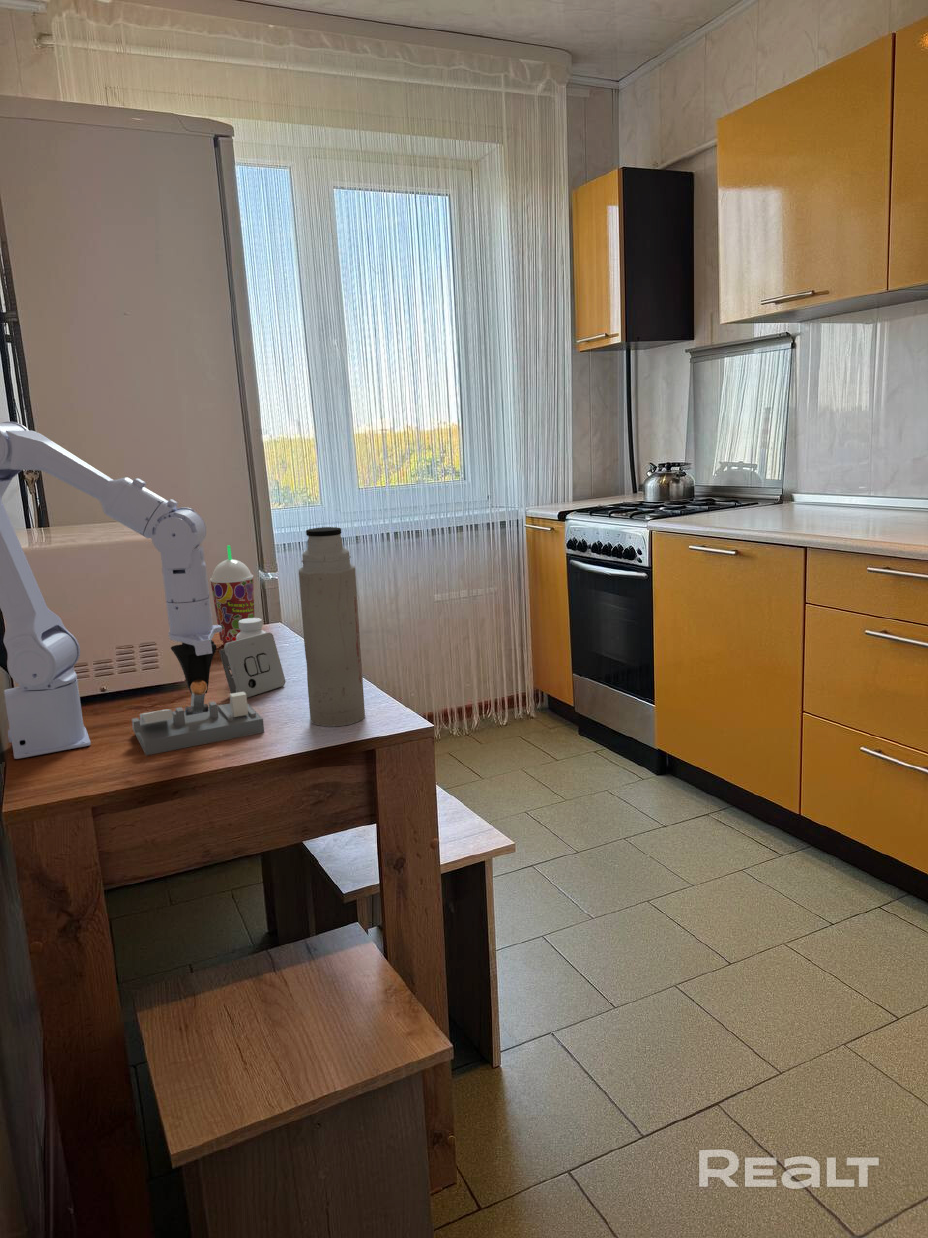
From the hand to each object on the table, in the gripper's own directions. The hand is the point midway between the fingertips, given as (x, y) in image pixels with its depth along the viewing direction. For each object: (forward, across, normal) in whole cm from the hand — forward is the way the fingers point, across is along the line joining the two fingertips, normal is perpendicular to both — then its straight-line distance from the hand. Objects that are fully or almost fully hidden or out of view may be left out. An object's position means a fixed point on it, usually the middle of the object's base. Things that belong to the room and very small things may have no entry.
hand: (199, 694), depth 122 cm
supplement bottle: (+7, +27, -15) cm, 32 cm away
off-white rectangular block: (+4, -1, -5) cm, 6 cm away
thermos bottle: (+6, -4, -18) cm, 20 cm away
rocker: (+2, +1, +6) cm, 6 cm away
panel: (+6, +1, 0) cm, 6 cm away
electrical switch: (+6, +17, -12) cm, 22 cm away
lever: (+2, +1, 0) cm, 3 cm away
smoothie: (+7, +51, -18) cm, 55 cm away
